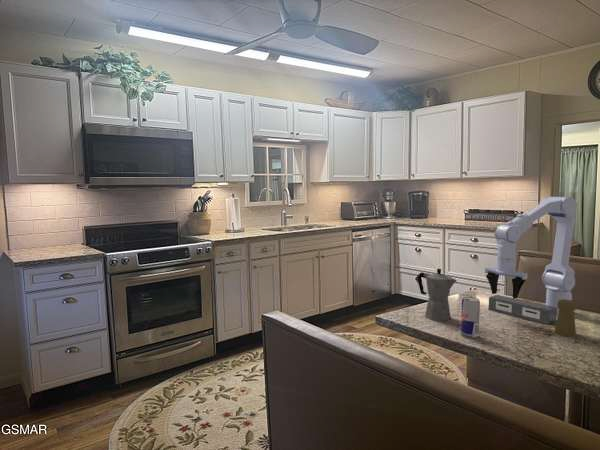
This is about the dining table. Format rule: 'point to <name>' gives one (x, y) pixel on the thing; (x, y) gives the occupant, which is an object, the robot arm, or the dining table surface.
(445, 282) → the coffeepot
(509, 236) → the robot arm
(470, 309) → the energy drink
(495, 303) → the dark gray slotted box
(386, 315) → the dining table surface
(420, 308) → the dining table surface
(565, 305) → the cork
